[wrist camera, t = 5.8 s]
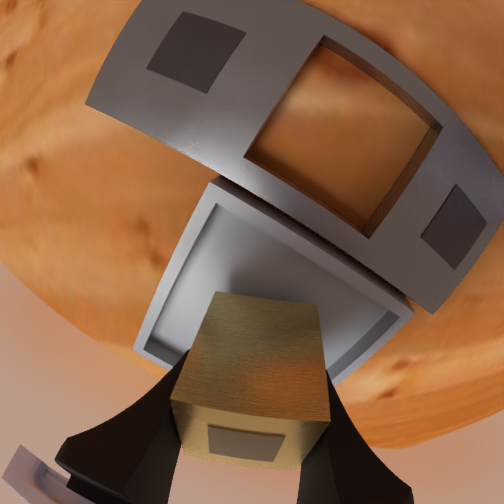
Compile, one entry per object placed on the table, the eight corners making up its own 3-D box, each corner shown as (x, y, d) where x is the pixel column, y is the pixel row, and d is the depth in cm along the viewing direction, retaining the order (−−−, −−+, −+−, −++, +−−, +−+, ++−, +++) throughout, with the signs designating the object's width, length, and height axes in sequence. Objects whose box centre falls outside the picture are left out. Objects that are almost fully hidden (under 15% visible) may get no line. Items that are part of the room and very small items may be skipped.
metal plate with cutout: (502, 191, 9) (516, 196, 8) (424, 302, 13) (433, 315, 11) (179, -25, 7) (170, -36, 6) (99, 104, 10) (83, 104, 9)
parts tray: (405, 297, 13) (415, 313, 11) (287, 404, 17) (286, 420, 16) (218, 176, 11) (209, 181, 10) (142, 334, 16) (132, 349, 14)
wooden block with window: (317, 305, 12) (330, 423, 6) (297, 371, 14) (295, 471, 8) (215, 290, 12) (168, 400, 7) (213, 359, 14) (183, 455, 8)
